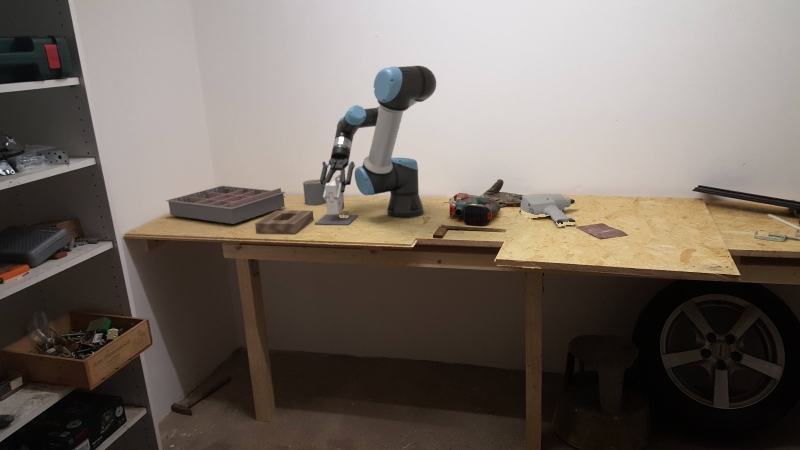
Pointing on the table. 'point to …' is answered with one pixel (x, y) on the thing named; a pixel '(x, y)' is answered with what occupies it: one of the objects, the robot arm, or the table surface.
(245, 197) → the organizer tray
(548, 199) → the impact wrench
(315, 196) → the coffee mug
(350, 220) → the rubber mat
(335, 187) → the ink cartridge box
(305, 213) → the cartridge holder
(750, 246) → the table surface
